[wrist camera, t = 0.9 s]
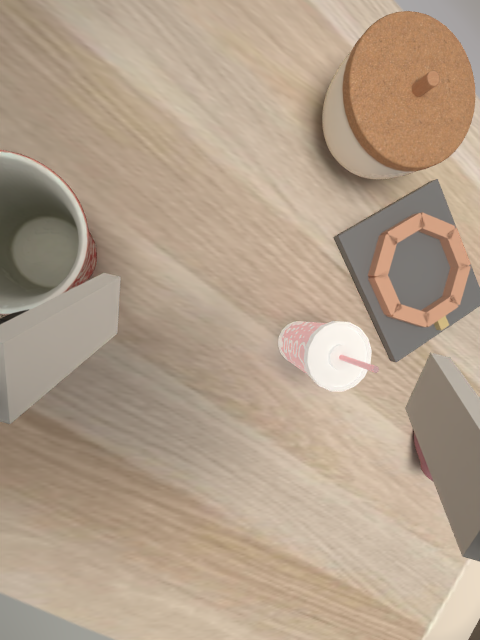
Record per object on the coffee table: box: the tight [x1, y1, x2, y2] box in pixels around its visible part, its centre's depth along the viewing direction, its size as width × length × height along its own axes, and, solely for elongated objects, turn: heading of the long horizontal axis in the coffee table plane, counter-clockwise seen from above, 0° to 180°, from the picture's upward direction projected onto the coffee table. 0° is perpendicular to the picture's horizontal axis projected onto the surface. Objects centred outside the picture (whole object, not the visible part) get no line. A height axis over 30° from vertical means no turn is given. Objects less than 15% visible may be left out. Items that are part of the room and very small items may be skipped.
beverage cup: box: [278, 321, 379, 391], centre depth 34 cm, size 6×6×14 cm
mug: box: [0, 150, 97, 315], centre depth 27 cm, size 13×9×14 cm
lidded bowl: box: [322, 11, 475, 179], centre depth 35 cm, size 13×13×11 cm
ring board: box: [334, 179, 480, 362], centre depth 42 cm, size 16×14×2 cm
